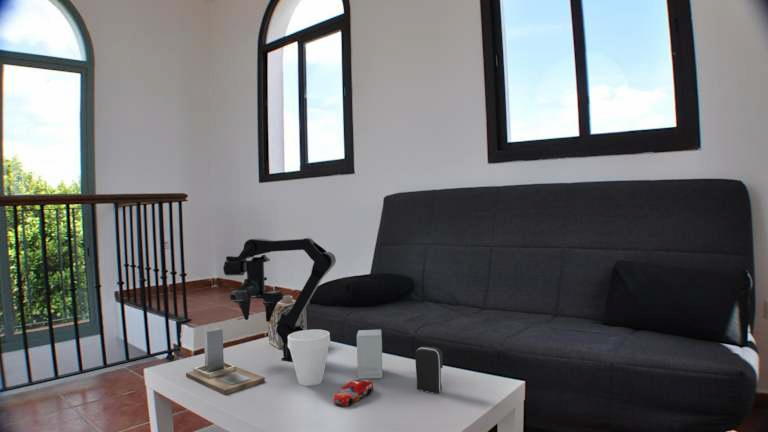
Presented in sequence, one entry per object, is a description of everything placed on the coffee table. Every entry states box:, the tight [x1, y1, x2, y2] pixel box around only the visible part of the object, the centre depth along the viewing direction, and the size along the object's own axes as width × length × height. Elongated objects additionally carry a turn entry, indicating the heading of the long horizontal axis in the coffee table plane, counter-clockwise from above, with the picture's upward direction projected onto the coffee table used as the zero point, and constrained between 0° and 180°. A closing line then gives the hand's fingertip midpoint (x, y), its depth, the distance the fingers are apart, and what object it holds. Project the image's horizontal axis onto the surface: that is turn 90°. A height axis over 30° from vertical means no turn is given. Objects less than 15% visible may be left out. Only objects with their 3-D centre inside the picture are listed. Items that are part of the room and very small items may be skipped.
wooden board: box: [185, 361, 266, 395], centre depth 139 cm, size 13×24×2 cm, turn 47°
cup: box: [288, 329, 331, 387], centre depth 134 cm, size 12×12×14 cm
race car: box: [332, 379, 374, 407], centre depth 121 cm, size 13×5×4 cm, turn 144°
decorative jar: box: [267, 295, 308, 350], centre depth 177 cm, size 12×12×18 cm
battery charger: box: [415, 346, 444, 394], centre depth 124 cm, size 7×4×11 cm, turn 56°
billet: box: [203, 326, 225, 373], centre depth 143 cm, size 5×5×13 cm
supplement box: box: [356, 329, 384, 380], centre depth 138 cm, size 7×7×13 cm
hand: (257, 320), depth 159 cm, fingers open, 9 cm apart
